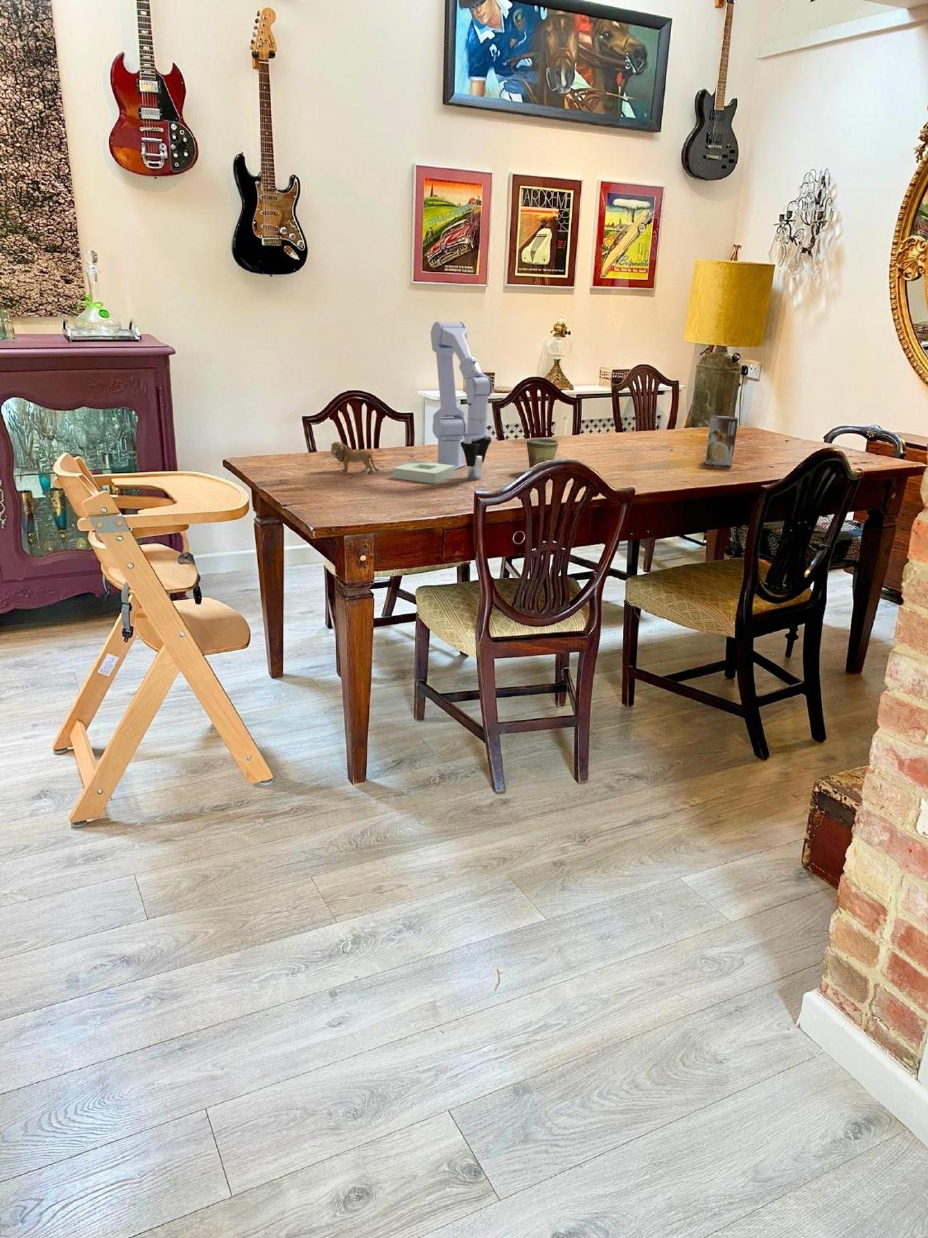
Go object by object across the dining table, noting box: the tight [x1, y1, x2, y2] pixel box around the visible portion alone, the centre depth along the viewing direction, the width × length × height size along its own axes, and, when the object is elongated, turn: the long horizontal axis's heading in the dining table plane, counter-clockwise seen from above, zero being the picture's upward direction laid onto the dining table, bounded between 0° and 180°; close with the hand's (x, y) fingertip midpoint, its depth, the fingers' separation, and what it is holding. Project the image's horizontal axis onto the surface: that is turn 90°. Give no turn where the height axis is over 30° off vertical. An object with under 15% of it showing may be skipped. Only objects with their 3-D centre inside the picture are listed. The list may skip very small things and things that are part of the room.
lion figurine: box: [330, 441, 380, 475], centre depth 266 cm, size 15×5×9 cm, turn 90°
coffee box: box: [704, 414, 739, 467], centre depth 302 cm, size 9×6×16 cm
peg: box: [467, 454, 483, 481], centre depth 264 cm, size 4×4×7 cm
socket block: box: [392, 460, 456, 484], centre depth 264 cm, size 14×14×3 cm
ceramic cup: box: [526, 437, 559, 469], centre depth 277 cm, size 13×10×10 cm
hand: (475, 464), depth 263 cm, fingers open, 7 cm apart
